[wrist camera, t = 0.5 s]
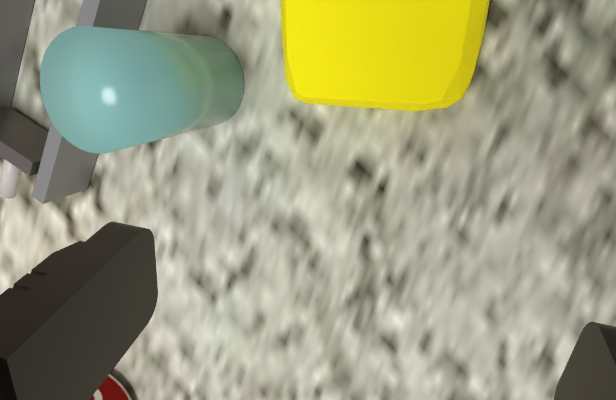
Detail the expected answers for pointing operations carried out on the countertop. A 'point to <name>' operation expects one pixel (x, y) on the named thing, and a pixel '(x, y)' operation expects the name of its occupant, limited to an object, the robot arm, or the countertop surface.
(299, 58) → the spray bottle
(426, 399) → the countertop surface
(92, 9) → the lane
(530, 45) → the countertop surface
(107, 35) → the teal rounded cylinder
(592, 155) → the countertop surface
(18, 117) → the pusher
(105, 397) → the soda can
